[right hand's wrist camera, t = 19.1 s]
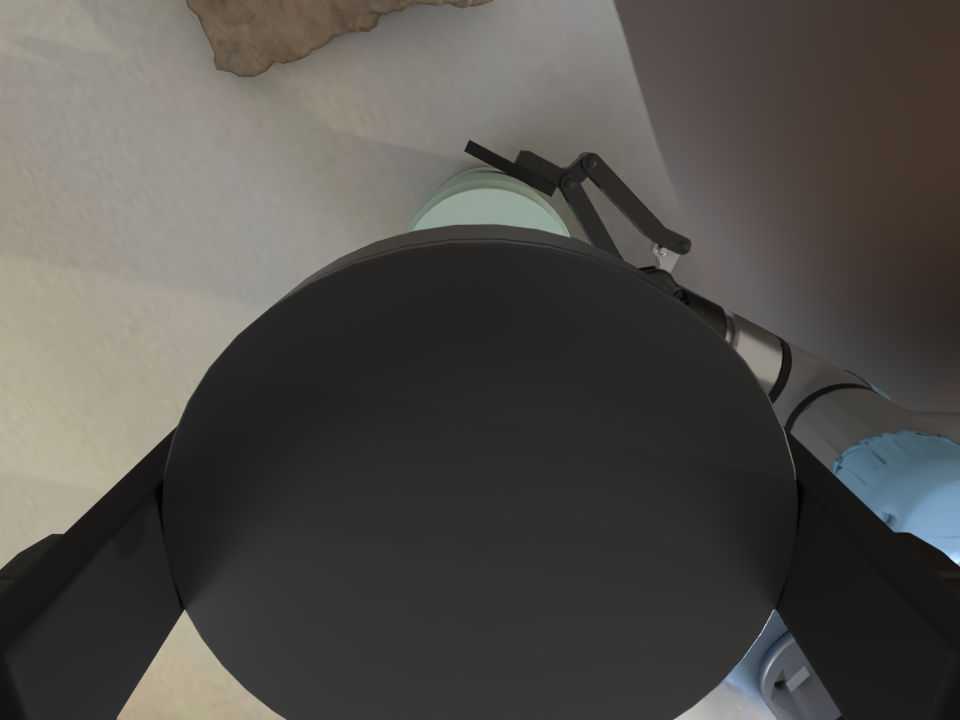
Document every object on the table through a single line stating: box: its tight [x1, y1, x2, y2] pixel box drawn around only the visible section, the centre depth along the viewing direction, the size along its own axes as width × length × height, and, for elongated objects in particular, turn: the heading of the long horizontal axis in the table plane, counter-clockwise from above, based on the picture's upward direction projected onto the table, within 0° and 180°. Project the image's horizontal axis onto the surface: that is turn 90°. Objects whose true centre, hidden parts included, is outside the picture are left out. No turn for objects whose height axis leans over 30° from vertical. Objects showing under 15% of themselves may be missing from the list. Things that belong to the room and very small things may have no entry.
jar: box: [406, 167, 571, 238], centre depth 40 cm, size 10×10×17 cm
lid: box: [161, 224, 799, 720], centre depth 12 cm, size 11×11×2 cm
